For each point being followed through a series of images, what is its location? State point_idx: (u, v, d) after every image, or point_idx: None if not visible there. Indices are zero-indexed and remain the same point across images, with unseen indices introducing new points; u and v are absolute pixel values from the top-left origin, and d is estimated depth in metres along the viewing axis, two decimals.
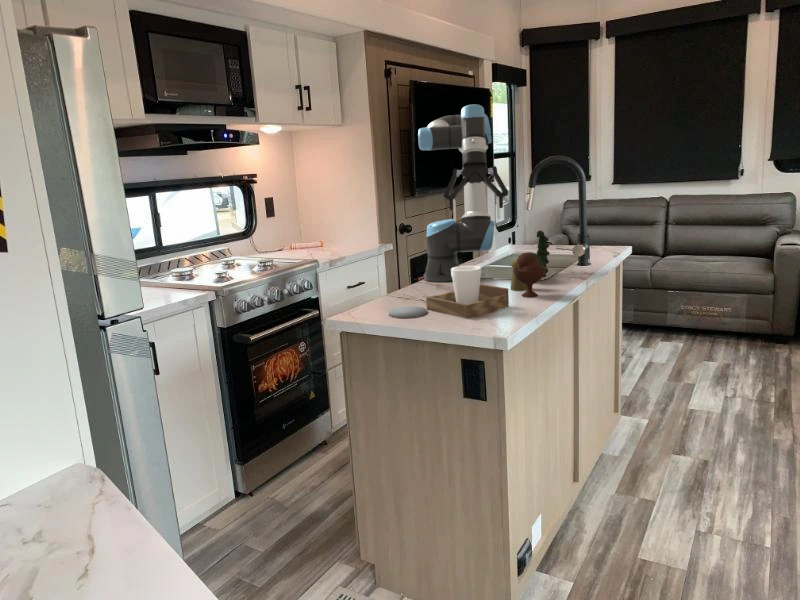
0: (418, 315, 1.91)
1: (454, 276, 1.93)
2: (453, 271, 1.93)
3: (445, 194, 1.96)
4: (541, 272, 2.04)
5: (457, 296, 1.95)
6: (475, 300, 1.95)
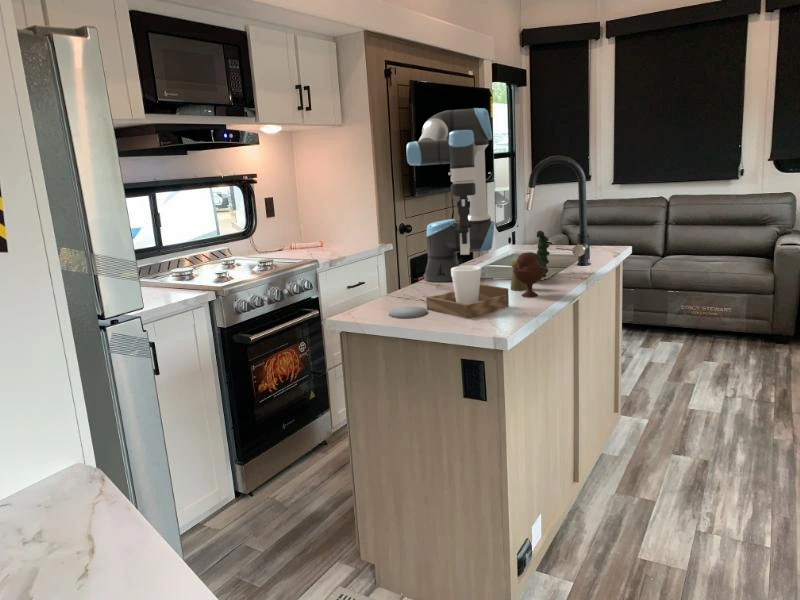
0: (418, 315, 1.91)
1: (454, 276, 1.93)
2: (453, 271, 1.93)
3: None
4: (541, 272, 2.04)
5: (457, 296, 1.95)
6: (475, 300, 1.95)
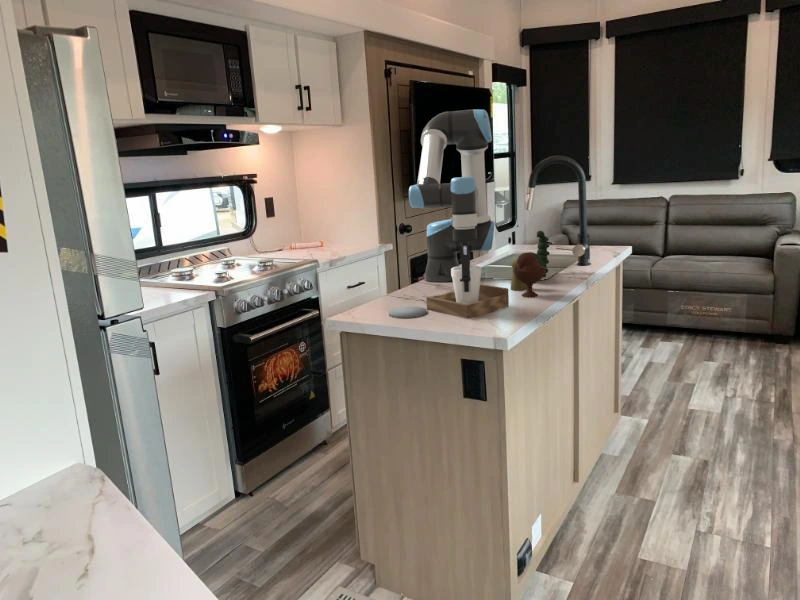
0: (418, 315, 1.91)
1: (454, 276, 1.93)
2: (453, 271, 1.93)
3: None
4: (541, 272, 2.04)
5: (457, 296, 1.95)
6: (475, 300, 1.95)
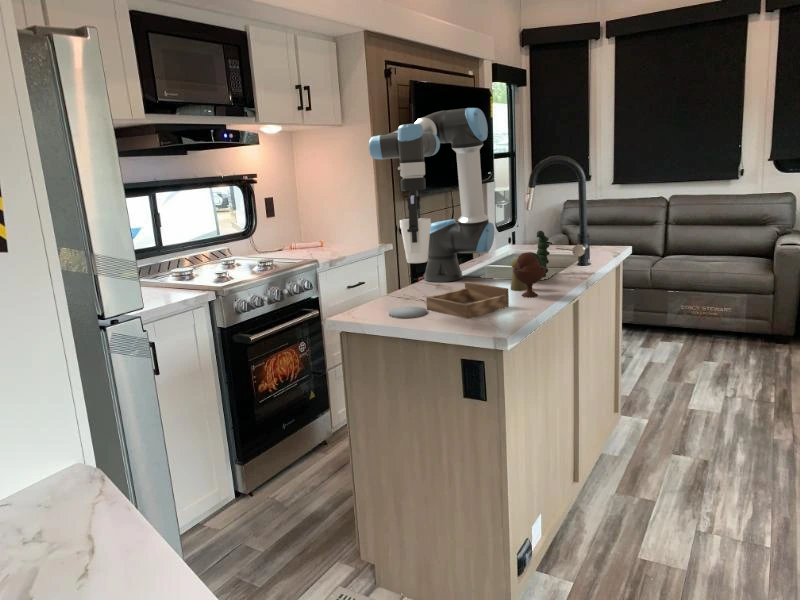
0: (418, 315, 1.91)
1: (402, 227, 1.88)
2: (401, 222, 1.88)
3: None
4: (541, 272, 2.04)
5: (406, 248, 1.90)
6: (424, 252, 1.89)
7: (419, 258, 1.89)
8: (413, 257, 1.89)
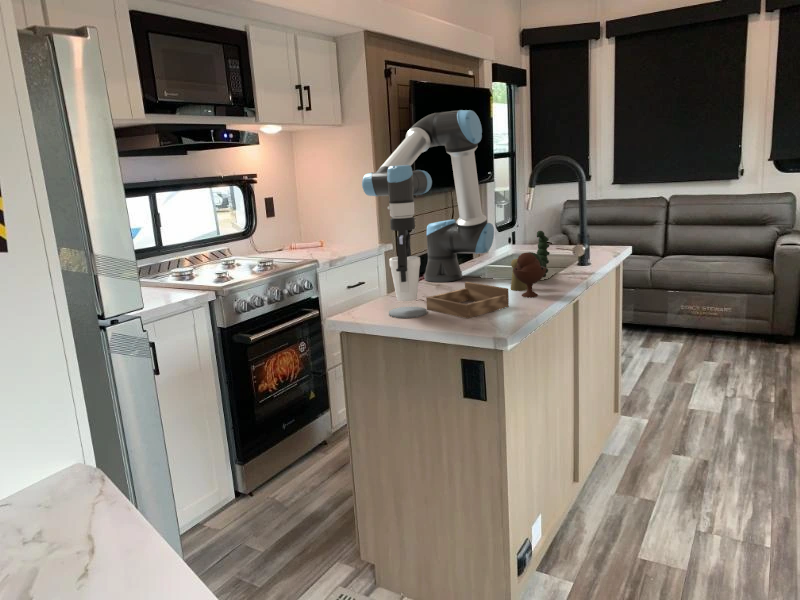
0: (418, 315, 1.91)
1: (392, 266, 1.90)
2: (391, 261, 1.90)
3: None
4: (541, 272, 2.04)
5: (395, 286, 1.92)
6: (414, 290, 1.92)
7: (409, 296, 1.91)
8: (402, 295, 1.91)
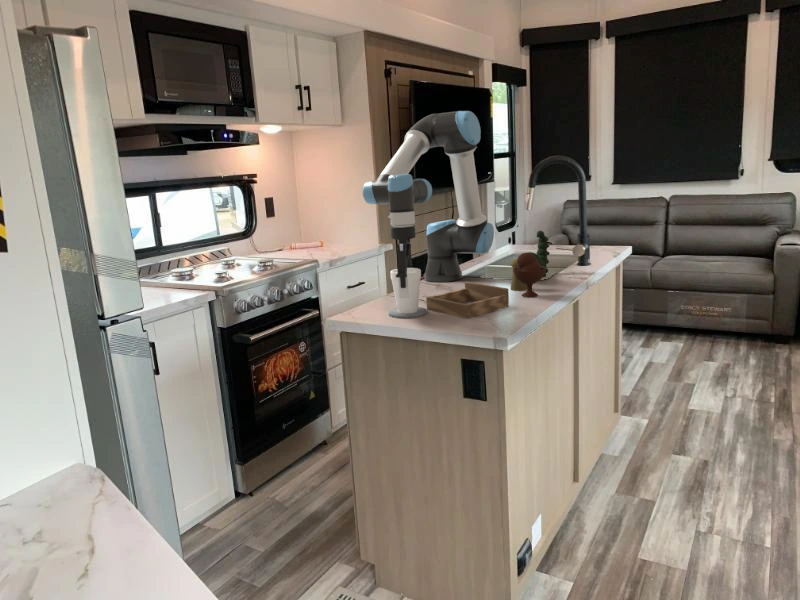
0: (418, 315, 1.91)
1: (393, 278, 1.91)
2: (392, 273, 1.91)
3: None
4: (541, 272, 2.04)
5: (396, 299, 1.93)
6: (414, 303, 1.93)
7: (409, 308, 1.92)
8: (403, 307, 1.92)
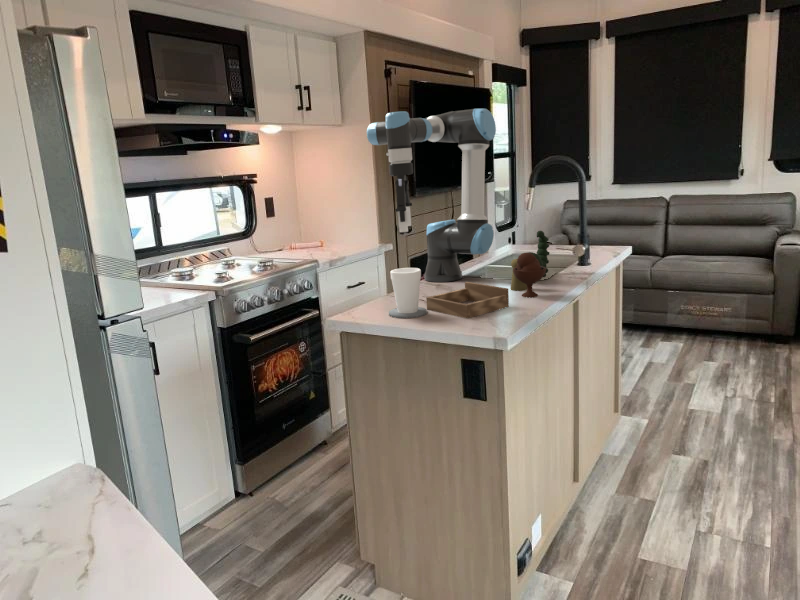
0: (418, 315, 1.91)
1: (393, 278, 1.91)
2: (392, 273, 1.91)
3: None
4: (541, 272, 2.04)
5: (396, 299, 1.93)
6: (414, 303, 1.93)
7: (409, 308, 1.92)
8: (403, 307, 1.92)
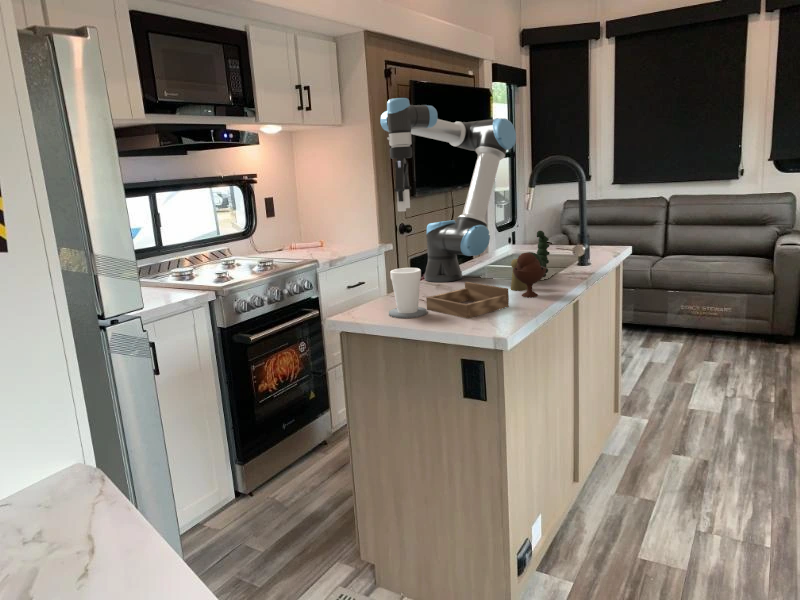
0: (418, 315, 1.91)
1: (393, 278, 1.91)
2: (392, 273, 1.91)
3: None
4: (541, 272, 2.04)
5: (396, 299, 1.93)
6: (414, 303, 1.93)
7: (409, 308, 1.92)
8: (403, 307, 1.92)
